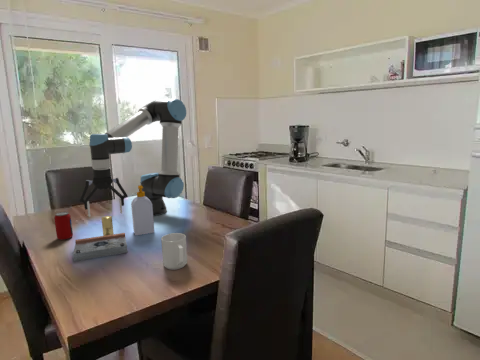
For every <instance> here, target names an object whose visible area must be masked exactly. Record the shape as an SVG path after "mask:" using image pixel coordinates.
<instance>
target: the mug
mask: <svg viewBox="0 0 480 360" xmlns="http://www.w3.org/2000/svg"><path fill="white" fill-rule="evenodd" d="M160 240H161V254H162V255H161V256H162V265H163V266H164V267H165V268H166V269H167V270H172V271H176V270H180V269H182V268H184V267H185V266H186V265H187V263H188V253H187V250H188V248H187V236H186V235H185V234H184V233H180V232H173V233H167V234H164V235H162V237H161V239H160Z"/></svg>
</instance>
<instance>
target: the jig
mask: <svg viewBox="0 0 480 360" xmlns="http://www.w3.org/2000/svg"><path fill="white" fill-rule="evenodd" d="M128 252H129V251H128V243H127V239H126V233H125V232H121V233H115V234H113V235H106V236H103V235H100V236H93V237H87V238H86V237H85V238H79V239H78V238H77V239H75V241H74V250H73V253H72V256H73V262H78V261H85V260H90V259H91V260H92V259H95V258H96V259H97V258H103V257H108V256H117V255H121V254H126V253H128Z"/></svg>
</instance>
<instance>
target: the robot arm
mask: <svg viewBox="0 0 480 360" xmlns="http://www.w3.org/2000/svg"><path fill="white" fill-rule="evenodd" d="M186 117H187V108H186V105H185V103H184V102H183V101H182V100H180V99H179V98H166V99H165V98H163V99H155V100H153V101H151V102H149V103H147V104H145V105H144V106H142V107H141V108H139V109H138V111H137V113H135V114H133V115H132V116H131V117H129V118H127V119H125V120H124V121H122V122H121V123H120V124H117V125H116V126H114V127H113V128H112V129H110V130H108V131H106V132H104V133H92V134H90V135H89V143H88V145H89V146H88V147H89V149H90V156H91V167H92V180H89V179H86V180H85V186H84V188H83V191H82V193H81V195H80V198H79V202H80V203H83V204H84V210H87V215H88V216H87V217H88V218H90V217H91V209H90V208H91V207H90V201H89V200H90V199H91V197H92V196H93V195H94V194H95V193H96V191H97V190H107V189H110V190H111V191H112V192H113V193H114V194H115V195H116V196H118V197H119V198H118V201H119V211H120V212H119V213H120V214H123V207H124V206H125V201H124V200H125V199H126V198H128V193H127V192H126V190H125V189H124V188H123V186H122V184H121V183H120V180H119V177H116V178H112V171H111V159H110V156H111V155H117V154H125V153H129V152H131V151H132V148H133V143H132V140H131V139H130V138H129V137H130V136H132V135H133V134H134V133H135V132H137V131H138V130H140V129H142V128H143V127H144V126H146V125H151V124H152V123H154V122H159V124H160V125H161V127H162V132H161V133H162V134H161V135H162V136H161V139H162V140H161V165H160V166H161V169H160V171H159V172H151V173H146V174H142V175H141V176H140V182H139V183H140V185H141V186H143V188H142V191H143V192H145V197H147V198H148V199H149V200H150V201H151V203H152V207H153V217H154V216H159V215H163V214H165V213H167V210H168V209H167V206H166V203H165V201H164V198H167V199H176V198H178V197H179V196H181V195H182V193H183V191H184V189H185V188H184V185H185V184H184V181H183V179H182V178H181V177H180V176H181V174H180V172H179V171H178V153H179V152H178V151H179V149H178V148H179V128H180V127H181V126H182V121H183V120H185V118H186ZM112 183H114V184H116V186H117V187H118V188H119V190H120V191H121V193H120V191H118V190H117V189H116V188H115V187H114V186H113V185H112ZM92 184H93V186H94V187H93V188H92V189H91V191H90V192H89V193H88V195H87V196H86V193H87V191H88V189H89V186H91V185H92ZM85 196H86V197H85Z"/></svg>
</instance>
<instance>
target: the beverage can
mask: <svg viewBox="0 0 480 360" xmlns="http://www.w3.org/2000/svg"><path fill="white" fill-rule="evenodd" d="M53 220H54V226H55V234H56V238H57V239H58V240H60V241H64V240H69V239H71V238H73V235H74V233H73V231H74V230H73V224H72V217H71V214H70V213H69V212H68V211H62V212H57V213H55V216H54V219H53Z"/></svg>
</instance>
